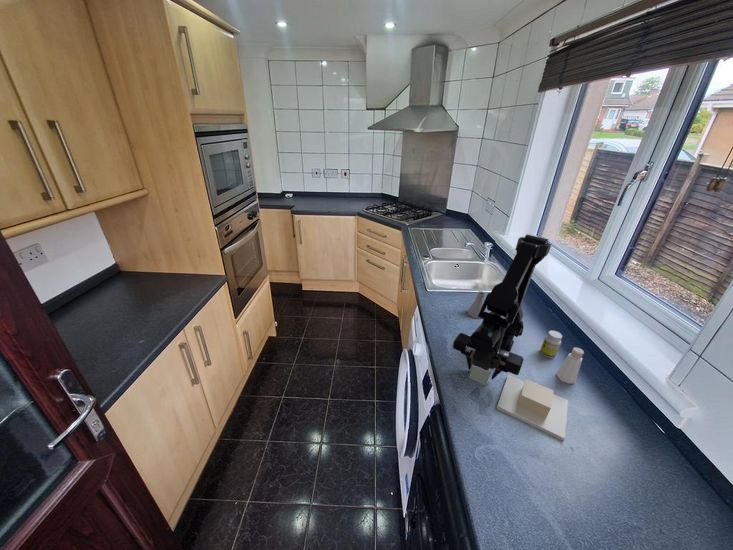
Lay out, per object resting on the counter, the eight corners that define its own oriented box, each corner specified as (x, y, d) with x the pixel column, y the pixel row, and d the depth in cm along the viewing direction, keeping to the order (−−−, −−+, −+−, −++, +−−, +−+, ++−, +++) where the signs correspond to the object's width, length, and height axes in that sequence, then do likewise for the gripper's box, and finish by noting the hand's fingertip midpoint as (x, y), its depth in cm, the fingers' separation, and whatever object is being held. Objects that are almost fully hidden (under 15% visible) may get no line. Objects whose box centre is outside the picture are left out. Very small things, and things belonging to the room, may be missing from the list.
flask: (489, 317, 121) (495, 296, 116) (475, 320, 118) (480, 299, 114) (477, 307, 127) (482, 287, 122) (463, 310, 124) (468, 290, 120)
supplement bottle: (540, 347, 105) (547, 327, 102) (555, 352, 103) (563, 332, 99) (539, 355, 102) (547, 335, 98) (555, 360, 100) (563, 340, 96)
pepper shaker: (573, 373, 94) (586, 346, 89) (578, 386, 90) (592, 358, 85) (554, 369, 96) (566, 342, 91) (557, 381, 91) (570, 353, 86)
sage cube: (474, 368, 95) (477, 356, 93) (490, 375, 92) (493, 363, 90) (469, 378, 91) (472, 365, 89) (485, 385, 89) (489, 373, 86)
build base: (507, 377, 92) (511, 364, 90) (567, 402, 84) (573, 390, 82) (496, 408, 82) (500, 395, 79) (563, 441, 74) (570, 427, 71)
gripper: (450, 334, 83) (441, 375, 90) (523, 363, 73) (507, 407, 81) (463, 316, 91) (454, 355, 98) (530, 340, 82) (515, 381, 89)
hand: (480, 373), depth 91 cm, fingers open, 6 cm apart
